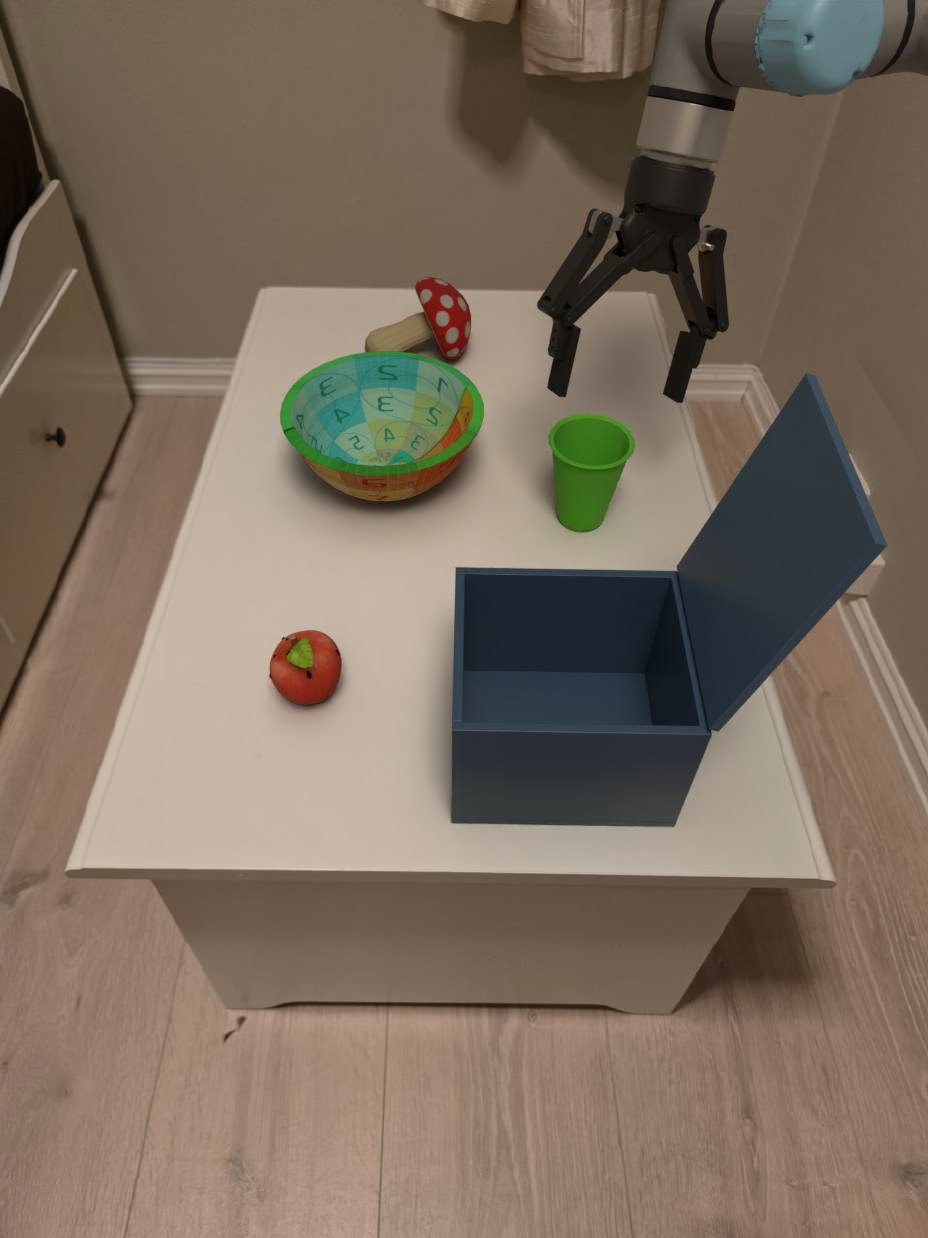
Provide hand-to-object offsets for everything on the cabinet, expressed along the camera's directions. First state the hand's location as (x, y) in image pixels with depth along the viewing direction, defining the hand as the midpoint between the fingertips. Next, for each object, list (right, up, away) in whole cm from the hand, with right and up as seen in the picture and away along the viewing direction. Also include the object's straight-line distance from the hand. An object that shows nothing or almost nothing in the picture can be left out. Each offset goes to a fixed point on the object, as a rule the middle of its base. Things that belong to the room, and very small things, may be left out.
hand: (616, 395), depth 89 cm
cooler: (-7, -34, -8) cm, 35 cm away
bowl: (-24, -6, +16) cm, 30 cm away
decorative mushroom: (-21, +14, +33) cm, 42 cm away
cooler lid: (+5, -18, -26) cm, 32 cm away
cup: (-2, -11, +12) cm, 16 cm away
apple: (-30, -30, -4) cm, 42 cm away
